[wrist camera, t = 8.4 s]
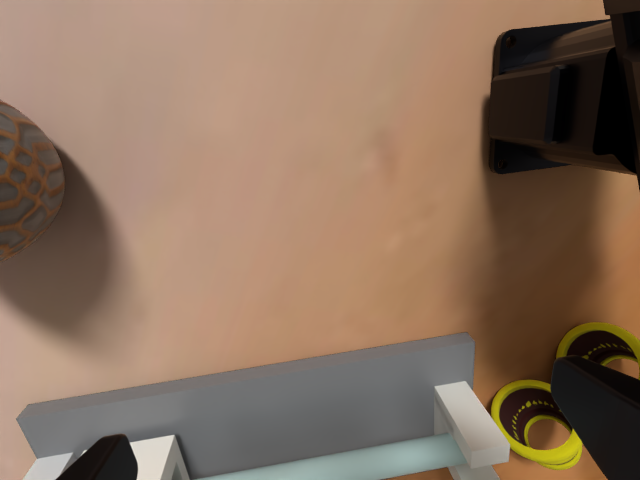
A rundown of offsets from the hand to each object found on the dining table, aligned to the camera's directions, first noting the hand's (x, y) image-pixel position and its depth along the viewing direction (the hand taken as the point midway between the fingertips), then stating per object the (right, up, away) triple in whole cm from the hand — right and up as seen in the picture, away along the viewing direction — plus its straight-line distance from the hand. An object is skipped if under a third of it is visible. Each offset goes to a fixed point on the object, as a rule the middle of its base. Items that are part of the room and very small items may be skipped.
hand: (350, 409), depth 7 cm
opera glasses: (+15, -6, +17) cm, 24 cm away
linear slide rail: (-4, -9, +15) cm, 18 cm away
